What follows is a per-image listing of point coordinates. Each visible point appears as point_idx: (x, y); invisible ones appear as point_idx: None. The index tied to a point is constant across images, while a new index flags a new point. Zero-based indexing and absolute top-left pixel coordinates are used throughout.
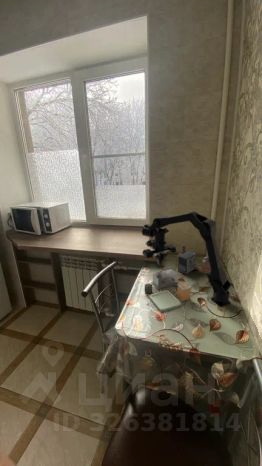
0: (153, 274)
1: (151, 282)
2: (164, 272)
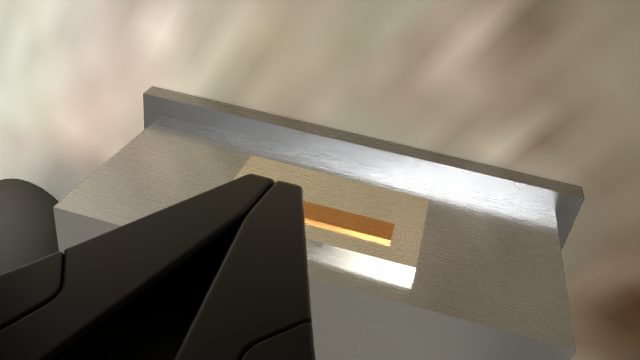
0: (57, 229)
1: (146, 95)
2: None
